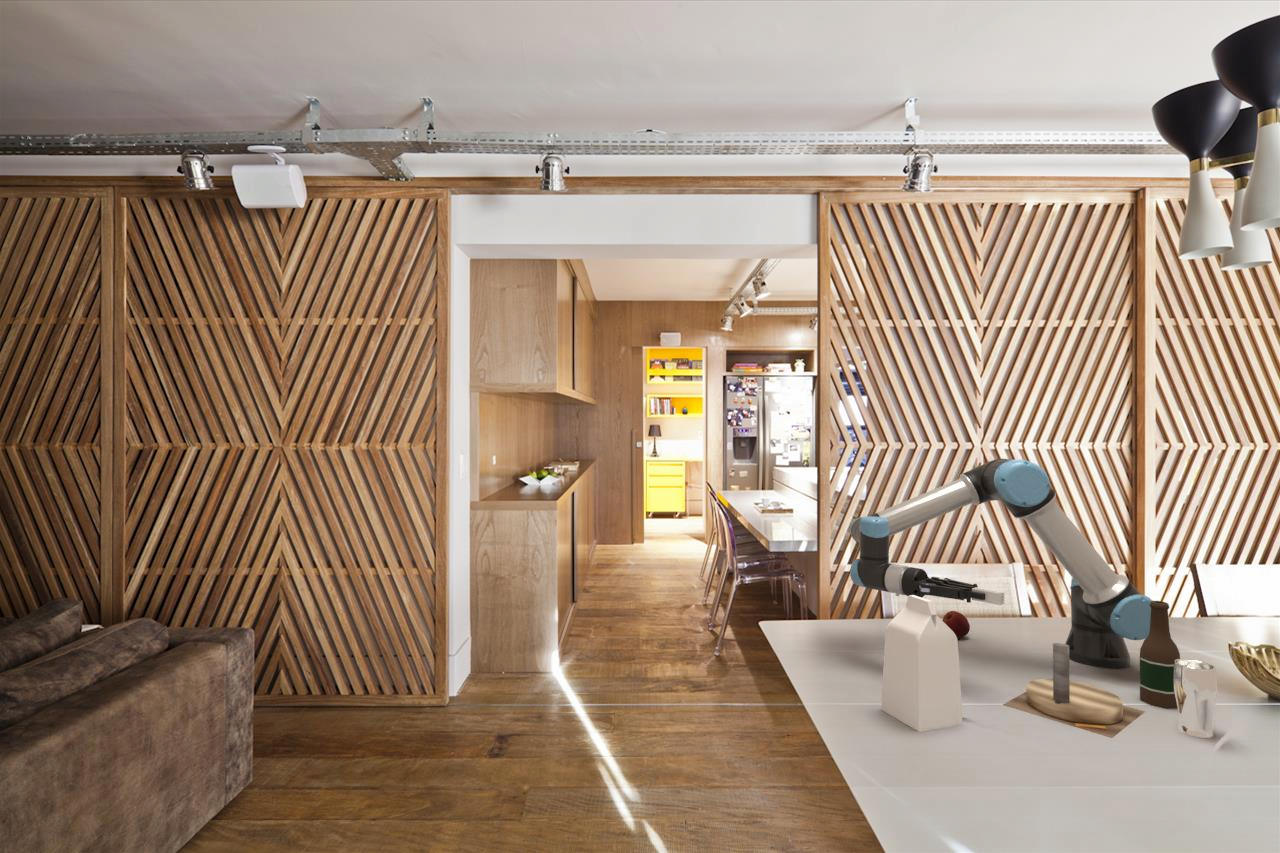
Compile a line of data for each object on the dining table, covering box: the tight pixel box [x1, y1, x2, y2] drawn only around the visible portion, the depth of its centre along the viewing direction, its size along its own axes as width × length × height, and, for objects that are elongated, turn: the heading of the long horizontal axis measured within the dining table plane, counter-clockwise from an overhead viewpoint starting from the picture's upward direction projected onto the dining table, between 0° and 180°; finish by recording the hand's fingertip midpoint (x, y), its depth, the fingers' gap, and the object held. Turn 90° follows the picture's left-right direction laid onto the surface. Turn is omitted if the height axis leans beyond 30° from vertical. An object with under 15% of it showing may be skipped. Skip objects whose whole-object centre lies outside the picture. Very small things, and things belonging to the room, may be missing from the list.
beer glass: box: [1173, 658, 1218, 739], centre depth 137 cm, size 7×7×15 cm
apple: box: [941, 610, 971, 639], centre depth 205 cm, size 7×8×8 cm
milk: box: [880, 595, 964, 732], centre depth 147 cm, size 12×12×26 cm
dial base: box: [1002, 691, 1146, 739], centre depth 148 cm, size 21×21×2 cm
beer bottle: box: [1139, 600, 1181, 710], centre depth 152 cm, size 8×8×24 cm
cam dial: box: [1025, 642, 1124, 725], centre depth 148 cm, size 18×18×15 cm
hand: (1002, 598), depth 155 cm, fingers closed
